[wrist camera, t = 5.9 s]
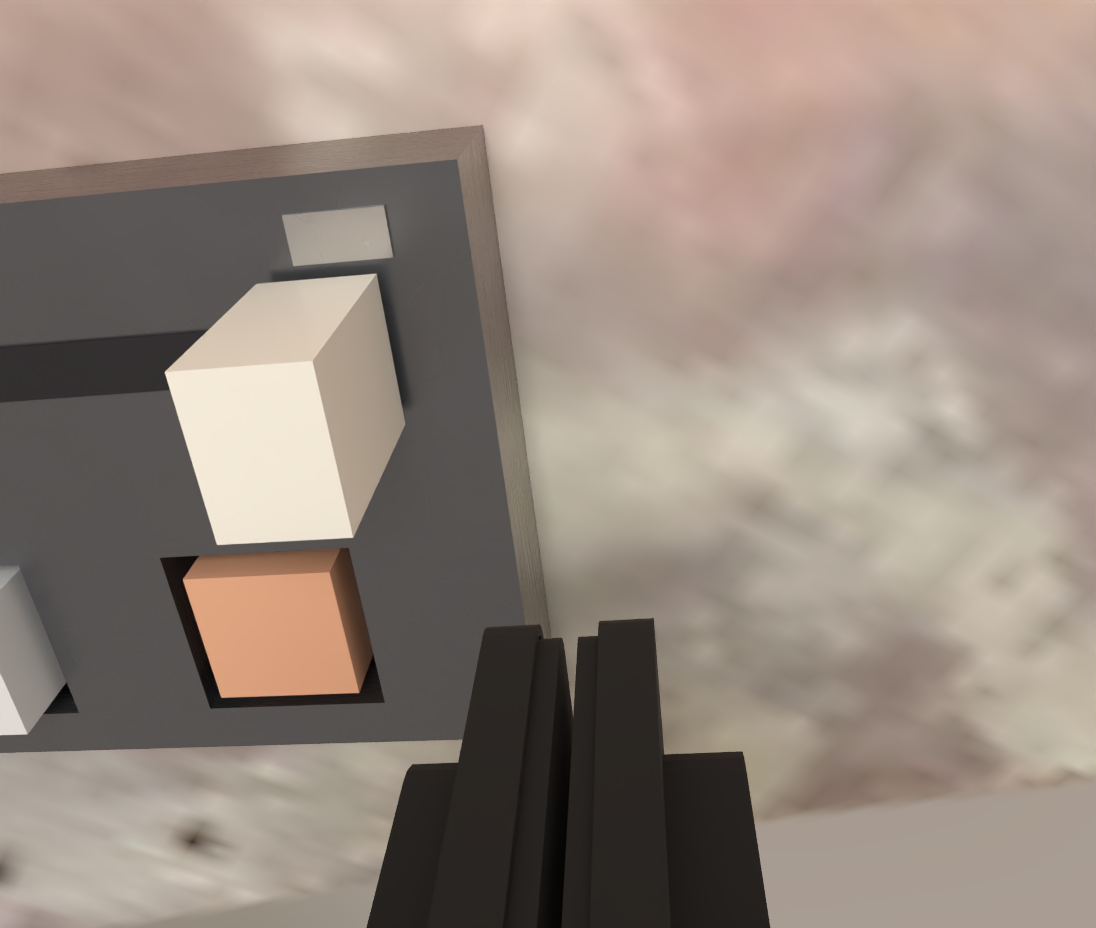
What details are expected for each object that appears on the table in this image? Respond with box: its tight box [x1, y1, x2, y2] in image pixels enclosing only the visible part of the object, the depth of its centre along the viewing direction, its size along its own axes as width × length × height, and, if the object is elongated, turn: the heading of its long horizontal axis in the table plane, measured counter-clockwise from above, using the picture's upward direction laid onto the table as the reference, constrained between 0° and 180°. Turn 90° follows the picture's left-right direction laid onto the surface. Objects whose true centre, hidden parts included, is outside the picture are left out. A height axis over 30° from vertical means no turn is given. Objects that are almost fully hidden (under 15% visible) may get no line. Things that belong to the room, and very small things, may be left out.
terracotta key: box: [183, 548, 373, 698], centre depth 25 cm, size 4×4×2 cm
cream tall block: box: [165, 274, 405, 545], centre depth 19 cm, size 2×3×4 cm
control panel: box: [0, 125, 551, 753], centre depth 25 cm, size 20×14×4 cm
